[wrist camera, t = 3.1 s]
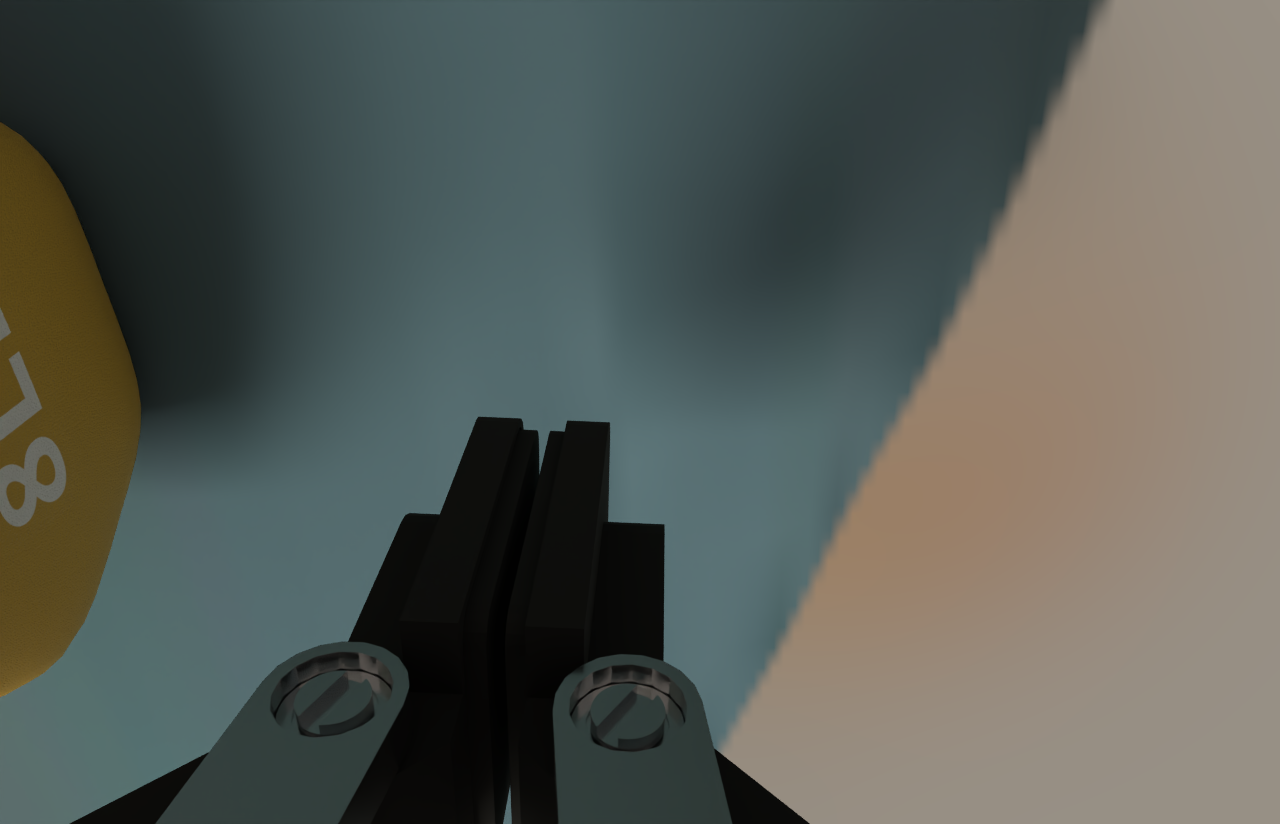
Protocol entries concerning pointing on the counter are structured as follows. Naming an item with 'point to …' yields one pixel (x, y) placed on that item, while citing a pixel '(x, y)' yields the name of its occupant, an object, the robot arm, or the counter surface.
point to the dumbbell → (54, 417)
